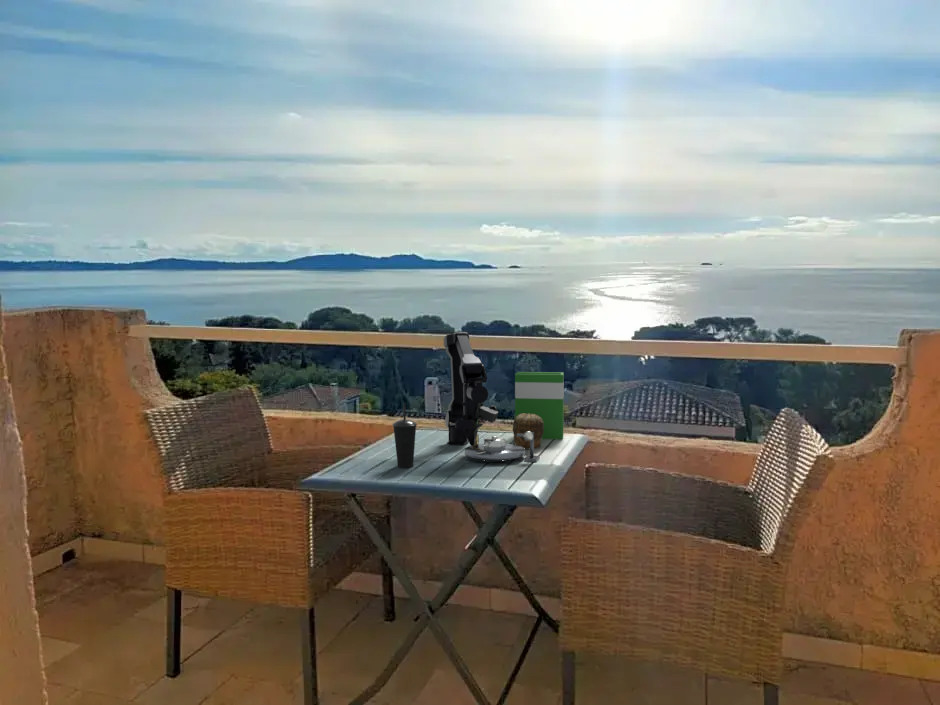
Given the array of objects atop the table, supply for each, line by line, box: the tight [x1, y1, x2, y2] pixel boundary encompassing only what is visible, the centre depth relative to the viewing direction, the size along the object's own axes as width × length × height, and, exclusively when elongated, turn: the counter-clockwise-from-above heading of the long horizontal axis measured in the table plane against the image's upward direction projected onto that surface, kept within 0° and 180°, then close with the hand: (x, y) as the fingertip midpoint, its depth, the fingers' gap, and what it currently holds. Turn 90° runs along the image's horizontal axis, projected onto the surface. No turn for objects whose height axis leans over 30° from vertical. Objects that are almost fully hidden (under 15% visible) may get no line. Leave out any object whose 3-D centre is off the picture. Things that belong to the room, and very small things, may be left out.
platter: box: [463, 433, 526, 461], centre depth 243 cm, size 20×20×5 cm
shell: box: [512, 413, 544, 450], centre depth 259 cm, size 11×11×12 cm
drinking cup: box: [392, 403, 418, 469], centre depth 232 cm, size 8×8×20 cm
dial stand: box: [517, 431, 540, 463], centre depth 240 cm, size 7×5×10 cm
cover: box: [483, 435, 506, 452], centre depth 243 cm, size 7×7×4 cm
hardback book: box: [514, 371, 565, 440], centre depth 277 cm, size 18×7×24 cm, turn 81°
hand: (472, 445), depth 246 cm, fingers closed
